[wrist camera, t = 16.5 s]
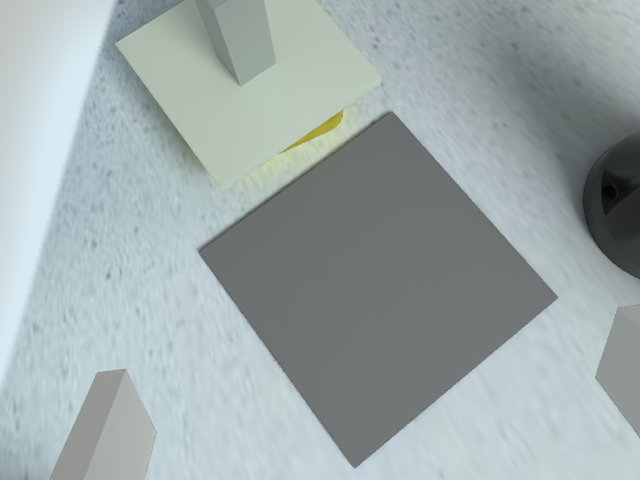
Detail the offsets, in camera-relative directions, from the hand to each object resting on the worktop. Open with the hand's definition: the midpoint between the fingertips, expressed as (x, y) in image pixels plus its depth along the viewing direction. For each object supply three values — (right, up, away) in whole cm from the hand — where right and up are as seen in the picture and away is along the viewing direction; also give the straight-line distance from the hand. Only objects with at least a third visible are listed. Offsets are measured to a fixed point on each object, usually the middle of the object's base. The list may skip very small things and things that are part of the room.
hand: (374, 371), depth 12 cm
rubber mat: (+4, 0, +30) cm, 31 cm away
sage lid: (-8, +20, +31) cm, 38 cm away
